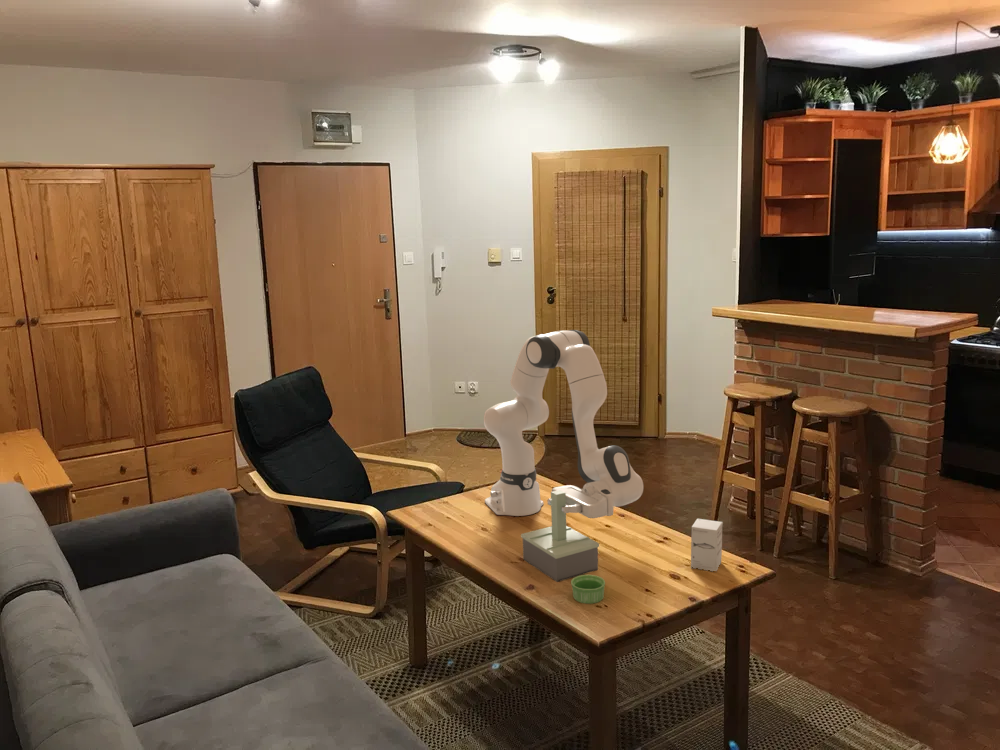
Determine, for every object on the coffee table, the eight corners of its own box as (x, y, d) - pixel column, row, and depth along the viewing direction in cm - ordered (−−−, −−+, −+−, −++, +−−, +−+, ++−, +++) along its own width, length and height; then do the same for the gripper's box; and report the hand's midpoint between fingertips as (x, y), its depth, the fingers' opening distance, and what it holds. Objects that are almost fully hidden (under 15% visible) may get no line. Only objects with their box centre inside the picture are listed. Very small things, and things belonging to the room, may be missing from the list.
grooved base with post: (521, 537, 234) (519, 488, 231) (562, 526, 241) (561, 479, 238) (556, 558, 218) (554, 506, 215) (599, 546, 225) (598, 496, 222)
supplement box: (690, 568, 225) (690, 526, 222) (696, 558, 231) (696, 517, 229) (716, 573, 221) (717, 530, 219) (722, 562, 228) (723, 521, 225)
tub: (523, 559, 235) (522, 537, 234) (562, 548, 242) (562, 527, 240) (556, 582, 220) (556, 558, 218) (598, 569, 226) (597, 546, 225)
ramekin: (592, 586, 216) (592, 571, 215) (612, 599, 208) (612, 584, 208) (564, 594, 212) (564, 579, 211) (583, 608, 204) (583, 592, 203)
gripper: (574, 477, 242) (536, 486, 235) (616, 495, 224) (575, 505, 218) (575, 497, 243) (536, 506, 236) (616, 517, 225) (576, 527, 219)
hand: (555, 506), depth 227 cm, fingers open, 6 cm apart
